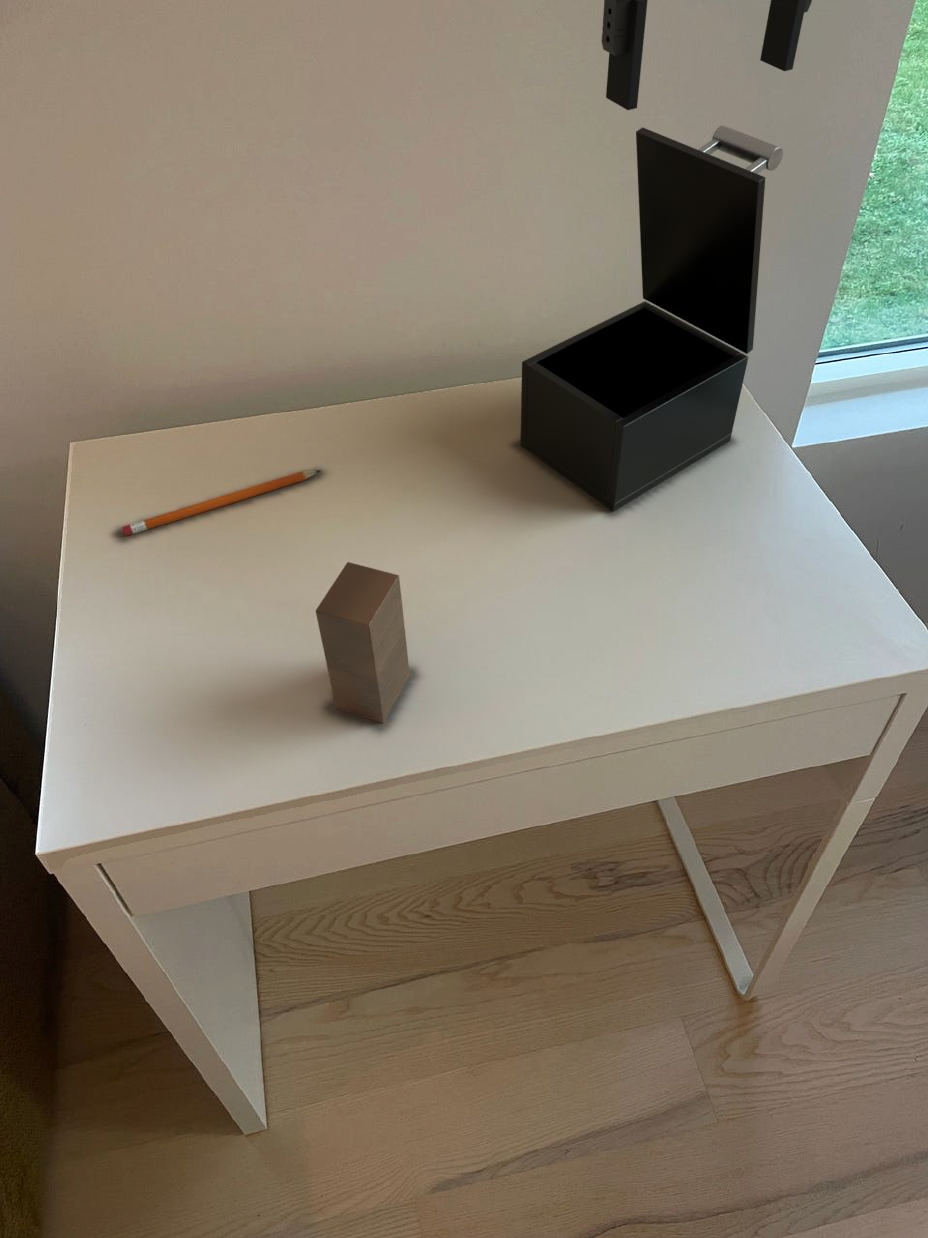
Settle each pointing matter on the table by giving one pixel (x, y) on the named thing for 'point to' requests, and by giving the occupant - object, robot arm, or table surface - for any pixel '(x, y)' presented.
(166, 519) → the pencil
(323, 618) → the tall brown wooden bar
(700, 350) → the black box
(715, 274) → the box lid
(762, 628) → the table surface
